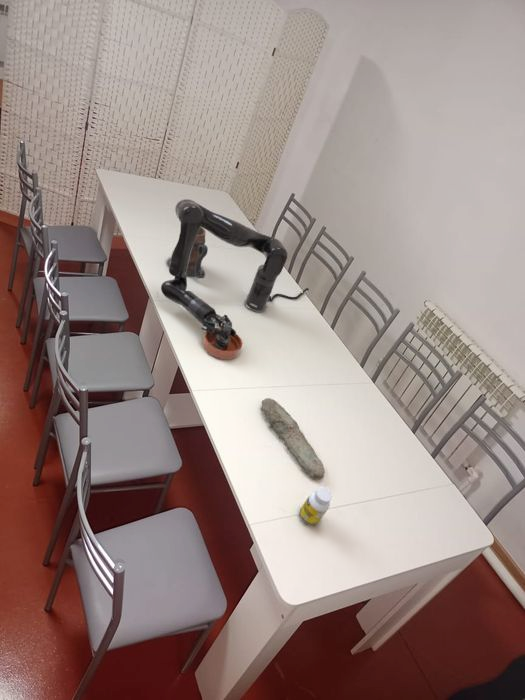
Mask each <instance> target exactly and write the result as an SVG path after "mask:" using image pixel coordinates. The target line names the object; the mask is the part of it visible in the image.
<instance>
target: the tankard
mask: <svg viewBox="0 0 525 700" xmlns="http://www.w3.org/2000/svg"><path fill="white" fill-rule="evenodd" d="M178 235H179V236H180V234H178ZM179 236H178V237H179ZM207 254H208V246H207V245H206V229H204V228H202V227H200V228H199V231H198V233H197V236H196V238H195V241H194V244H193V247H192V250H191V254H190V258H189V263H188V267H187V271H186V276H187V277H189V278H190V277H191V278H193V277H196V279H204V278H205V277H206V272H205V270H204V269H202V266H201V265H202V262H203V259H204V258H205V257H206V256H207ZM170 261H171V257H170V258H169V259H168V260H167V266H168V268H169V266H170Z"/></svg>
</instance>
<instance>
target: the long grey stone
mask: <svg viewBox="0 0 525 700" xmlns="http://www.w3.org/2000/svg"><path fill="white" fill-rule="evenodd" d="M261 411H262V412H263V416H264V417H265V419H266V420H267V422H268V423H269V428H271V429H272V430H273V431H274V432H275V433H276V435H277V437H278V438H279V439H280V440H281V441H282V442H283V444H284V446H285V447H286V448H287V449H286V450H287V451H289V454H290V455H292V457H293V458H294V459H295V462H297V464H298V465H299V467H300V468H301V469H302V470H303V471H304V473H305V474H306V475H308V476H309V478H311V479H313V480H321V479H323V478H324V476H325V474H326V473H325V467H324V464H323V462H322V460H321V459H320V458H319V456H318V455H317V453H316V452H315V450H314V448H313V447H312V446H311V444H310V443H309V441H308V440H307V438H306V437H305V435H304V432H302V431H301V429H300V427H299V423H298V422H297V421H296V420H295V419H294V418H293V417H292V416H291V414H290V413H289V412H287V410H286V409H285V408H284V407H283V406H282V405H281V404H280V403H278V402H277V401H276V400H275V399H274V398H271V397H270V398H269V397H267V398H264V399H263V400H262V401H261Z"/></svg>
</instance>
